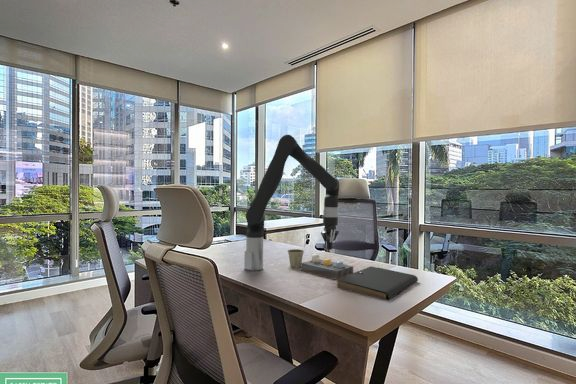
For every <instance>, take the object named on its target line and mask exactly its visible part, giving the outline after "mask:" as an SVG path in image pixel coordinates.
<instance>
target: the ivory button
mask: <svg viewBox="0 0 576 384" xmlns="http://www.w3.org/2000/svg"><path fill="white" fill-rule="evenodd" d="M319 259H320V254H319V253H313V254H311V260H312V263H315V264H317V263H319Z"/></svg>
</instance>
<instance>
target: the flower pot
mask: <svg viewBox="0 0 576 384" xmlns="http://www.w3.org/2000/svg"><path fill="white" fill-rule="evenodd" d="M304 253H305V250H304V249H295V248H294V249H288V250H287V254H288V259H289V266H290V267H292V268H299V267H300V268H301V263H303V255H304Z"/></svg>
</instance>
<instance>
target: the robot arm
mask: <svg viewBox="0 0 576 384" xmlns="http://www.w3.org/2000/svg"><path fill="white" fill-rule="evenodd" d="M289 156H290V157H291V158H293V159H294V160H295V161H297V162H298V163H299V164H300V165H301V166H302V167H303V168H304V170H306V171H307V172H308V173H309V174H310V175H311V176H312V177H313V178H314V179H315V180H316V181H318V182H319V183H320V184H321V186H322V187H323V188H324V189H325V196H324V198H323V199H324V200H323V214H322V215H323V216H322V224H323V226H324V228H323V231H321V232H320V234H321V237H322V239H323V241H324V242H326V249H327V250H329V251H331V250H333V243H334V242H335V241H336V240H337V237H338V235H339V232H340V231H339V230H337V226H338V223H339V222H338V221H339V209H338V208H339V201H338V200H339V192H340V182H339V180H338V179H337V178H336V177H335V176H333V175H331V174H330V173H329V172H328V171H327V170H326V168H324V167H323V165H322V164H320V163H319V162H318V161H317V160H315V159H314V158H313V157H311V156H310V155H309V154H308V153H306V151H304V150H303V148H302V147H301V146H300V144H298V141H297V140H296V139H295V137H293V136H292V135H291V134H285V135H282V136H281V137H280V138H279V141H278V143H277V145H276V148H275V152H274V155H273V157H272V159H271V161H270V162H269V165H268V167H267V169H266V171H265V173H264V175H263V177H262V179H261V181H260V184H259V187H258V189H257V192H256V195H255V197H254V199H253V201H252V203H251V204H250V206H249V208H248V209H247V211H246V213H245V218H246V221H247V223H246V225H247V226H246V234H245V239H246V241H245V242H246V243H245V251H244V264H243V265H244V269H245V270H248V271H252V272H253V271H261V270H263V269H264V233H265V231H264V230H265V211H266V208H267V205H268V204H269V202H270V201H271V199H272V197H273V196H274V194H276V191H277V189H278V187H279V185H280V182H281V181H282V178H283V175H284V171H285V165H286V162H287V160H288V158H289Z"/></svg>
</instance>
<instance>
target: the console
mask: <svg viewBox="0 0 576 384" xmlns="http://www.w3.org/2000/svg"><path fill="white" fill-rule="evenodd" d="M335 262H336V261H335ZM335 262H334V261H331V266H324V265H323V259H320V258H319V263H317V264H315V263H312V259H311V260H307V261H305V262H302V263H301V267H300V268H301V270H300V271H302V272H305V273H309V274H313V275H318V276H321V277H327V278H331V279H334V280H337V279H340V278H342V277H345V276H347V275H350V274H353V273H354V266H353V265H350V264H349V265H348V264H345V263H343V268H342V269H338V268H335Z"/></svg>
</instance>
